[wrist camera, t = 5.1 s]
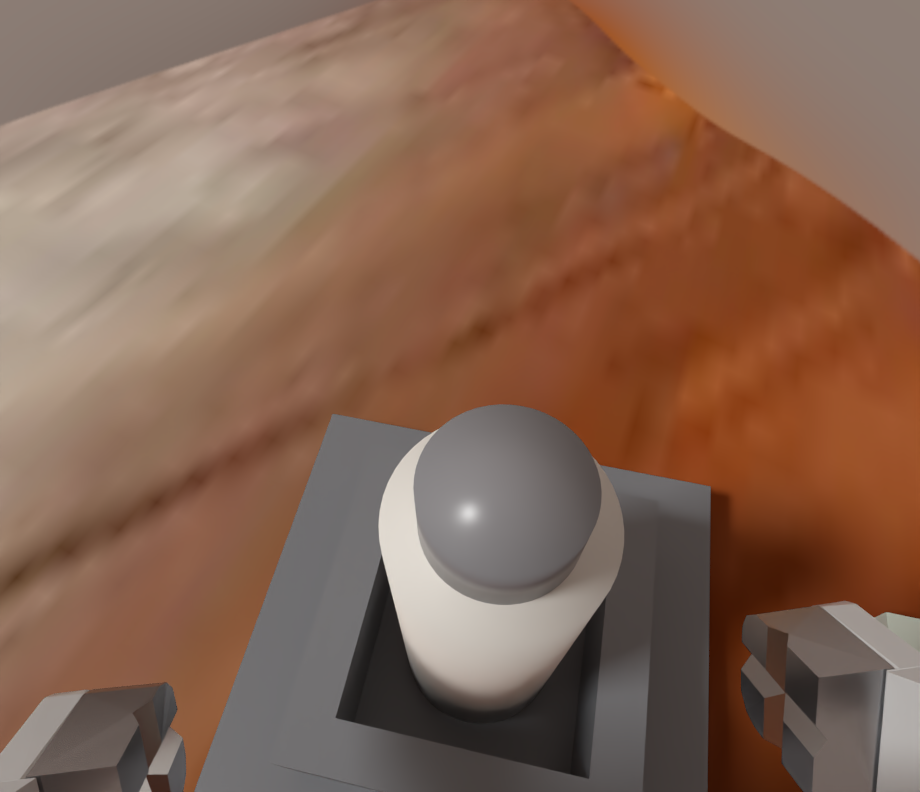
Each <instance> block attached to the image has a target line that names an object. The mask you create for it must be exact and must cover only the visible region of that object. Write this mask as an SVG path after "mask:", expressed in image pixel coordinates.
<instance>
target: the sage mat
mask: <svg viewBox="0 0 920 792" xmlns="http://www.w3.org/2000/svg"><path fill="white" fill-rule="evenodd" d="M875 619H876V620H878V621H879V622H880V623H882V624H883V625H884V626H886V627H887V628H888V629H890V630H891V631H892V632H893V633H895V634H896V635H897V636H899V637H900V638H901V639H903V640H904V641H905V642H907V643H908V644H909V645H910V646H912V647H913V648H914V649H916V650H917V651H918V652H920V619H917V618H913V617H908V616H903V615H898V614H893V613H888V612H885V613H883V614H881V615H879V616H877V617H875Z"/></svg>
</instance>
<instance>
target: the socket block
mask: <svg viewBox="0 0 920 792" xmlns="http://www.w3.org/2000/svg"><path fill="white" fill-rule="evenodd" d="M430 434H431V433H430V432H425V431H420V430H414V429H409V428H404V427H399V426H394V425H388V424H383V423H378V422H373V421H368V420H362V419H357V418H352V417H347V416H342V415H336V414H333V415H332V417H331V420H330V423H329V426H328V428H327V431H326V434H325V436H324V439H323V442H322V445H321V447H320V450H319V453H318V455H317V458H316V461H315V464H314V466H313V469H312V472H311V475H310V477H309V480H308V483H307V485H306V488H305V491H304V494H303V496H302V499H301V502H300V505H299V507H298V510H297V513H296V515H295V518H294V521H293V524H292V526H291V529H290V532H289V535H288V537H287V540H286V543H285V545H284V548H283V551H282V554H281V556H280V559H279V562H278V565H277V567H276V570H275V573H274V575H273V578H272V581H271V584H270V586H269V589H268V592H267V595H266V597H265V600H264V603H263V605H262V608H261V611H260V614H259V616H258V619H257V622H256V625H255V627H254V630H253V633H252V635H251V638H250V641H249V644H248V646H247V649H246V652H245V655H244V657H243V660H242V663H241V665H240V668H239V671H238V674H237V676H236V679H235V682H234V685H233V687H232V690H231V693H230V695H229V698H228V701H227V704H226V706H225V709H224V712H223V715H222V717H221V720H220V723H219V725H218V728H217V731H216V734H215V736H214V739H213V742H212V745H211V747H210V750H209V753H208V755H207V758H206V761H205V764H204V766H203V769H202V772H201V775H200V777H199V780H198V783H197V785H196V788H195V791H194V792H708V699H709V603H710V507H711V487H710V486H705V485H700V484H695V483H690V482H684V481H679V480H674V479H669V478H664V477H658V476H653V475H648V474H643V473H638V472H632V471H627V470H622V469H617V468H612V467H606V466H601V465H600V466H601V468H602V469H603V471H604V472H605V473H606V475H607V477H608V479H609V480H610V482H611V484H612V486H613V488H614V490H615V493H616V495H617V498H618V500H619V504H620V508H621V512H622V516H623V524H624V548H623V555H622V561H621V564H620V567H619V571H618V574H617V577H616V579H615V581H614V583H613V585H612V587H611V589H610V591H609V592H608V594H607V595H606V597H605V598H604V600H603V601H602V603H601V604H600V606H599V607H598V609H597V610H596V611H595V613H594V614H593V616H592V617H591V619H590V620H589V621H588V623H587V624H586V626H585V627H584V629H583V630H582V631H581V633H580V634H579V636H578V637H577V639H576V640H575V641H574V643H573V644H572V646H571V647H570V649H569V650H568V651H567V653H566V654H565V656H564V657H563V659H562V660H561V661H560V663H559V664H558V666H557V667H556V669H555V670H554V671H553V673H552V674H551V676H550V677H549V679H548V680H547V681H546V683H545V684H544V686H543V687H542V689H541V690H540V691H539V693H538V694H537V696H536V697H535V698H534V699H533V700H532V701H531V703H530V704H529V705H527V706H526V707H525V708H524V709H523V710H522V711H520V712H518V713H517V714H515V715H514V716H512V717H509V718H507V719H505V720H502V721H498V722H494V723H486V724H475V723H468V722H464V721H460V720H457V719H455V718H452V717H450V716H448V715H446V714H445V713H443V712H442V711H440V710H439V709H437V708H436V707H435V706H434V705H433V704H432V703H431V702H430V701H429V700H428V699H427V698H426V697H425V696H424V694H423V693H422V691H421V690H420V688H419V687H418V685H417V683H416V681H415V679H414V676H413V673H412V671H411V668H410V664H409V660H408V656H407V652H406V648H405V644H404V640H403V636H402V632H401V628H400V624H399V620H398V616H397V612H396V608H395V604H394V600H393V597H392V593H391V589H390V585H389V581H388V577H387V573H386V569H385V565H384V561H383V557H382V552H381V547H380V542H379V527H378V524H379V512H380V507H381V502H382V498H383V494H384V492H385V489H386V486H387V484H388V481H389V479H390V478H391V476H392V474H393V472H394V470H395V468H396V467H397V466H398V464H399V463H400V462H401V460H402V459H403V457H404V456H405V455H406V454H407V453H408V452H409V451H410V450H411V449H412V448H413V447H414V446H415V445H416V444H417V443H419V442H420V441H421V440H422V439H424V438H425V437H426V436H428V435H430Z"/></svg>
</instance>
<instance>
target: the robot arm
mask: <svg viewBox="0 0 920 792" xmlns="http://www.w3.org/2000/svg"><path fill="white" fill-rule="evenodd" d="M742 642H743V644H744V645H745V646H746V647H747V649H748V650H749V651H750V652H751V656H750V657H749V659H748V660H747V661H746V663H745V664H744V666H743V667H742V669H741V691H742V695H743V699H744V703H745V707H746V711H747V713H748V715H749V717H750V719H751V721H752V723H753V725H754V727H755V728H756V729H757V731H758V732H759V733H760V735H761V736H762V738H763V739H765V740H767V741H769V742H770V743H772V744H774V745H776V746H778V747H780V748H782V764H783V766H784V767H785V768H786V770H787V771H788V772H789V773H790V775H791V776H792V777H793V779H794V780H795V781H796V783H797V784H798V785H799V787H800V788H801V789H802V791H803V792H920V652H918V651H917V650H916V649H914V648H913V647H912V646H910V645H909V644H908V643H907V642H905V641H904V640H903V639H901V638H900V637H899V636H897V635H896V634H895V633H893V632H892V631H891V630H890V629H888V628H887V627H886V626H884V625H883V624H882V623H880V622H879V621H878V620H876V619H875V618H874V617H872V616H871V615H870V614H869V613H867V612H866V611H865V610H863V609H862V608H861V607H859V606H858V605H857V604H855V603H851V602H848V601H841V602H834V603H828V604H821V605H815V606H812V607H804V608H797V609H790V610H783V611H776V612H769V613H761V614H754V615H747V616H746V618H745V621H744V624H743V628H742ZM176 712H177V706H176V701H175V697H174V692H173V688H172V687H171V686H170V685H169V684H168V683H166V682H164V683H153V684H143V685H132V686H122V687H112V688H101V689H93V690H80V691H72V692H64V693H56V694H53V695H50V696H48V697H45V698H44V699H43V700H42V701H41V703H40V704H39V705H38V707H37V708H36V709H35V710H34V712H33V713H32V714H31V715H30V717H29V718H28V719H27V721H26V722H25V723H24V724H23V726H22V727H21V728H20V729H19V731H18V732H17V733H16V735H15V736H14V737H13V738H12V740H11V741H10V742H9V743H8V745H7V746H6V747H5V749H4V750H3V751H2V752H1V754H0V792H183V789H184V783H185V776H186V755H185V749H184V743H183V738H182V737H181V736H180V735H179V734H178V733H176V732H175V731H174V730H173V729H172V728H171V727H170V725H171V722H172V720H173V718H174V716H175V714H176Z"/></svg>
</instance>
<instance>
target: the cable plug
mask: <svg viewBox="0 0 920 792" xmlns="http://www.w3.org/2000/svg"><path fill="white" fill-rule="evenodd" d="M378 527H379V542H380V547H381V552H382V557H383V561H384V565H385V569H386V573H387V577H388V581H389V585H390V589H391V593H392V597H393V600H394V604H395V608H396V612H397V616H398V620H399V624H400V628H401V632H402V636H403V640H404V644H405V648H406V652H407V656H408V660H409V664H410V668H411V671H412V673H413V676H414V679H415V681H416V683H417V685H418V687H419V688H420V690H421V691H422V693H423V694H424V696H425V697H426V698H427V699H428V700H429V701H430V702H431V703H432V704H433V705H434V706H435V707H436V708H437V709H439V710H440V711H442V712H443V713H445V714H446V715H448V716H450V717H452V718H455V719H457V720H460V721H464V722H468V723H475V724H486V723H494V722H498V721H502V720H505V719H507V718H509V717H512V716H514V715H515V714H517V713H518V712H520V711H522V710H523V709H524V708H525V707H526V706H527V705H529V704H530V703H531V701H532V700H533V699H534V698H535V697H536V696H537V694H538V693H539V691H540V690H541V689H542V687H543V686H544V684H545V683H546V681H547V680H548V679H549V677H550V676H551V674H552V673H553V671H554V670H555V669H556V667H557V666H558V664H559V663H560V661H561V660H562V659H563V657H564V656H565V654H566V653H567V651H568V650H569V649H570V647H571V646H572V644H573V643H574V641H575V640H576V639H577V637H578V636H579V634H580V633H581V631H582V630H583V629H584V627H585V626H586V624H587V623H588V621H589V620H590V619H591V617H592V616H593V614H594V613H595V611H596V610H597V609H598V607H599V606H600V604H601V603H602V601H603V600H604V598H605V597H606V595H607V594H608V592H609V591H610V589H611V587H612V585H613V583H614V581H615V579H616V577H617V574H618V571H619V567H620V564H621V561H622V555H623V548H624V524H623V516H622V512H621V508H620V504H619V500H618V498H617V495H616V493H615V490H614V488H613V486H612V484H611V482H610V480H609V479H608V477H607V475H606V473H605V472H604V471H603V469H602V468H601V466H600V465H599V464H598V462H597V461H596V460H595V459H594V458H593V457H592V456H591V454H590V452H589V450H588V449H587V447H586V446H585V445H584V443H583V442H582V441H581V439H580V438H579V437H578V436H577V435H576V434H575V433H574V432H573V431H572V430H571V429H569V428H568V427H567V426H566V425H564V424H563V423H561V422H560V421H558V420H557V419H555V418H553V417H551V416H549V415H547V414H545V413H543V412H540V411H538V410H535V409H531V408H527V407H523V406H516V405H490V406H484V407H480V408H476V409H473V410H470V411H467V412H465V413H462V414H460V415H458V416H456V417H455V418H453V419H451V420H450V421H448V422H447V423H446V424H444V425H443V426H442V427H441V428H440V429H438V430H436V431H434V432H433V433H431V434H430V435H428V436H426V437H425V438H424V439H422V440H421V441H420V442H419V443H417V444H416V445H415V446H414V447H413V448H412V449H411V450H410V451H409V452H408V453H407V454H406V455H405V456H404V457H403V459H402V460H401V462H400V463H399V464H398V466H397V467H396V468H395V470H394V472H393V474H392V476H391V478H390V479H389V481H388V484H387V486H386V489H385V492H384V494H383V498H382V502H381V507H380V512H379V524H378Z"/></svg>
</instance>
